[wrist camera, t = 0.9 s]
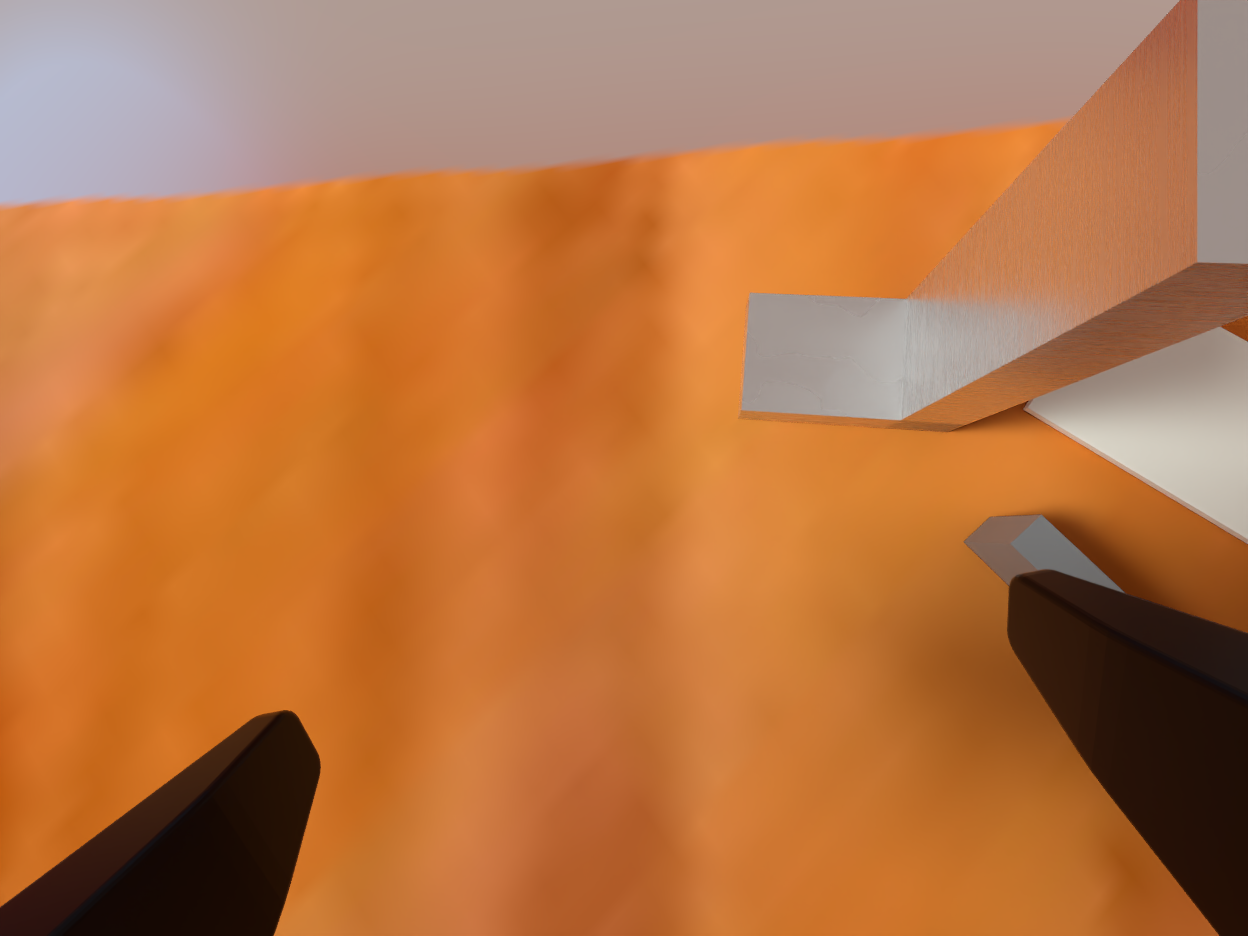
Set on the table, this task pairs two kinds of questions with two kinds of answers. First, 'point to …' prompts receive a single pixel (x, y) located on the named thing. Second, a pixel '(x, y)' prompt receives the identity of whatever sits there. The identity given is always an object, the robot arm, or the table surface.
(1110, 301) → the bracket
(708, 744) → the table surface
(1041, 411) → the plate
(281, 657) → the table surface
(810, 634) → the table surface
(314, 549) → the table surface
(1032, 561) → the corner wall
